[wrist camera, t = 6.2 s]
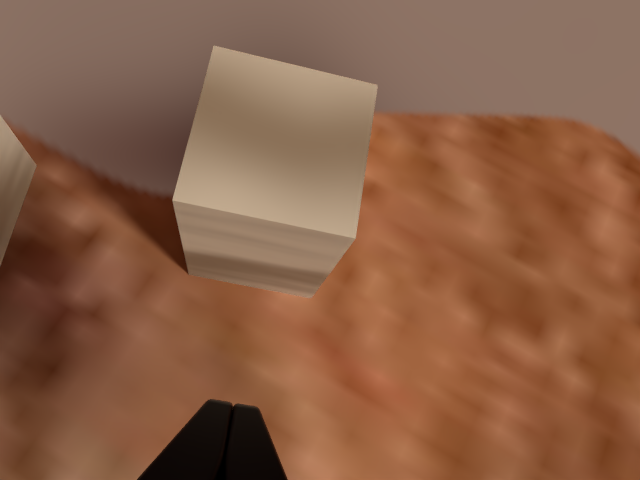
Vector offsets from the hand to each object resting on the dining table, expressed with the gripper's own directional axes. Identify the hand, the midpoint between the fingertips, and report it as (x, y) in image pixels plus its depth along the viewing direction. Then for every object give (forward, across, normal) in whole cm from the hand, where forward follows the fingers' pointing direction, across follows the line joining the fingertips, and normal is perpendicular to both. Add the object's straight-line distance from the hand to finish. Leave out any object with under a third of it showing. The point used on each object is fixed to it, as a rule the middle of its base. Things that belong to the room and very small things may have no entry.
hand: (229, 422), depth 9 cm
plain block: (+14, 0, +3) cm, 14 cm away
